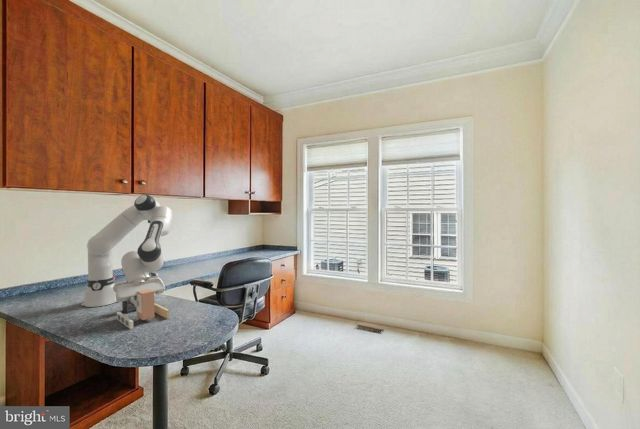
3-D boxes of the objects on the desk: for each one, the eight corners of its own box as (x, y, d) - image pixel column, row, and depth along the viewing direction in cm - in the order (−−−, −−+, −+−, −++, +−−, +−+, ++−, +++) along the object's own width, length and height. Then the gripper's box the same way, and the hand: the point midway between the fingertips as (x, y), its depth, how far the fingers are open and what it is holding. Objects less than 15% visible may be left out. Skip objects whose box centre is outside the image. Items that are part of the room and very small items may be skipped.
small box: (144, 305, 158) (143, 286, 158) (149, 308, 154) (148, 288, 154) (121, 311, 150) (121, 291, 150) (126, 313, 146) (125, 292, 146)
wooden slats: (116, 319, 138) (115, 310, 138) (153, 310, 151) (153, 302, 151) (129, 329, 125) (129, 320, 125) (169, 318, 137) (169, 309, 137)
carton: (148, 313, 140) (147, 288, 140) (154, 317, 135) (154, 291, 135) (136, 316, 136) (135, 291, 136) (142, 320, 131) (141, 293, 131)
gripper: (113, 280, 132) (120, 305, 126) (161, 272, 148) (169, 294, 141) (110, 288, 135) (117, 313, 129) (158, 280, 151) (166, 302, 144)
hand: (145, 303), depth 135 cm, fingers closed on carton, 5 cm apart
